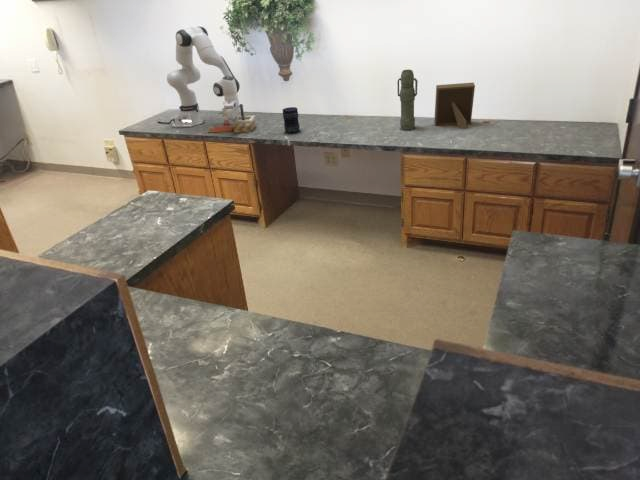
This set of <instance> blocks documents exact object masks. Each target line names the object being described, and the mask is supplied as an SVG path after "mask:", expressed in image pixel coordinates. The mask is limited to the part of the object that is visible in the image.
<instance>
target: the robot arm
mask: <svg viewBox="0 0 640 480" xmlns="http://www.w3.org/2000/svg"><path fill="white" fill-rule="evenodd" d="M175 42H176V43H175V61H176V62H177V64H179V66H180V65H181V68H179V69H175V70H172V71H170V72H169V73H167V75H166V81H167V84H168V85H169V86H170V87H172V88H174V89H175V91H176V92H177V94H178V95H179V96H178V97H179V100H180V103H181V105H180V106H179V107H178V108H179V112H178V113H176V115H175V116H174V118H173V119H170V120H169V121H168V122H165V121H156V122H157V123H159V124H165V125H169V124H171V123H172V121H173V123H172V124H171V127H172V128H192V127H195V126H200V125H202V124H203V123H204V120H203V119H202V116H201V114H200V113H201V112H200V106H199V103H198V101H197V95H196V92H195V91H193V89H192V90H191V89H190V88H189V87H188V85H191V84H194V83H196V82H198V81H200V80H201V72H200V70H199V69H198V68H197V66H195V64H194V58H193V57H194V55H193V54H194V53H193V52H194V51H193V47H195V49H196V52H197V55H198V57H199V59H200V60H201V62H202V63H203V64H205V65H208V66H212V67H213V66H214V67H216V68H218V69H219V70H220V71H221V73H222V74H223V76H222V78H221V79H220V80H218V81H216V82H214V83H213V86H212V90H213V94H214V95H215V96H216V97H218V98H219V97H220V98H221V97H224V102H225V104H224V105H223V107H224V108H226V115H227V119H228V120H232V121H233V124H232V125H236V121H238V120H237V117H238V115H239V114H241V111H240V107H239V105H240V101H239V96H238V92H239V91H240V89H241V87H240V85H241V84H240V82H239V81H238V79H237V78H236V76H235V75H234V74H233V72H232V70H231V68H230V66H229V65H228V63H227V61H226V59H225V58H224V57H223V56H222V55H220V54H219V53H218V52H217V51H216V49H215V47H214V44H213V43H212V41H211V39H210V37H209V33H208V30H207V29H206V28H205V27H204V26H192V27H191V26H190V27H187V28H184V29H183V28H182V29H179V30H178V31H176V33H175Z"/></svg>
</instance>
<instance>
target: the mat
mask: <svg viewBox="0 0 640 480" xmlns="http://www.w3.org/2000/svg"><path fill="white" fill-rule="evenodd" d="M234 126H235V125H219V126H213V127H212V128H211V129H210V130H209V131H208V134H215V133H231V132H232V131H234V128H233V127H234Z"/></svg>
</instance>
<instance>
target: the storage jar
mask: <svg viewBox="0 0 640 480" xmlns="http://www.w3.org/2000/svg"><path fill="white" fill-rule="evenodd" d="M282 118H283V122H284V123H283V126H284V131H285V132H284V133H285V134H286V135H295V134H299V133H300V132H301V130H300V129H301V128H300V123H299V122H300V121H299V110H298V107H295V106H289V107H285V108H283V109H282Z"/></svg>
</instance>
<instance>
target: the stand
mask: <svg viewBox="0 0 640 480" xmlns="http://www.w3.org/2000/svg"><path fill="white" fill-rule="evenodd" d="M239 107H240V116H241V117H242V120H241V121H243V120H246V119H245V117H244V116H245V111H244V105H243V104H242V103H239ZM233 126H234V127H233V128H234V129H233V133H234V134H235V133H252V132H253V130H254V129H255V128H256V121H255V120H253V122H252V123H249V124H234V125H233Z"/></svg>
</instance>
